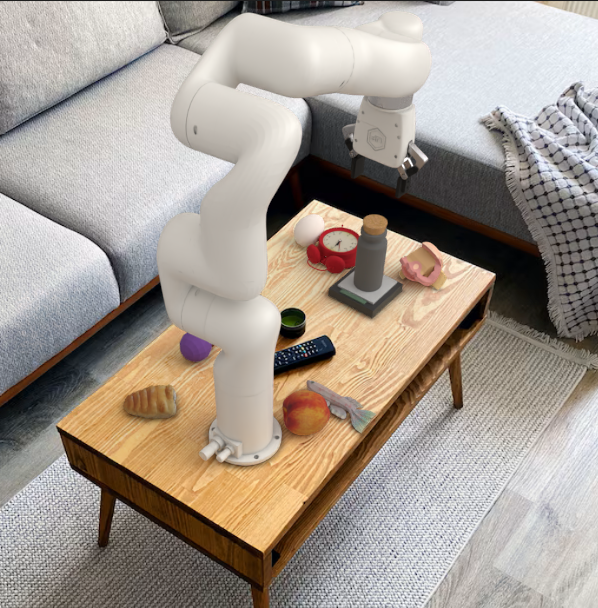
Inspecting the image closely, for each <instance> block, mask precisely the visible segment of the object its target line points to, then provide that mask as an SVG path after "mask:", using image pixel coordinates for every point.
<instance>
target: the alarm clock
mask: <svg viewBox="0 0 598 608" xmlns="http://www.w3.org/2000/svg"><path fill="white" fill-rule="evenodd" d="M359 236H360V234H359V233H358V232H357V231H355V230H353V229H351V228H348V227H344V224H341V225H340V226H336V227H330V228H328V229H324V232H323V233H322V234H321V235H320V237H319V241H318V243H317V245H316V244H314V245H313V244H311V245H309V246H307V247H306V257H307V260H306V264H307V265H308V266H309V267H310V268H311V269H314V270H317V271H318V272H319V271H320V272H326V271H328V272H329V273H330V274H333V275H338V274H342V273H343V272H344V270H347V269H352V268H354V267H355V261H356V252H357V243H358V238H359ZM310 263H311V264H312V265H318V264H321V265H323V266H324V267H325V269H321V268H320V269H319V268H317V267H314V266H312V265H311V264H310Z"/></svg>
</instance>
